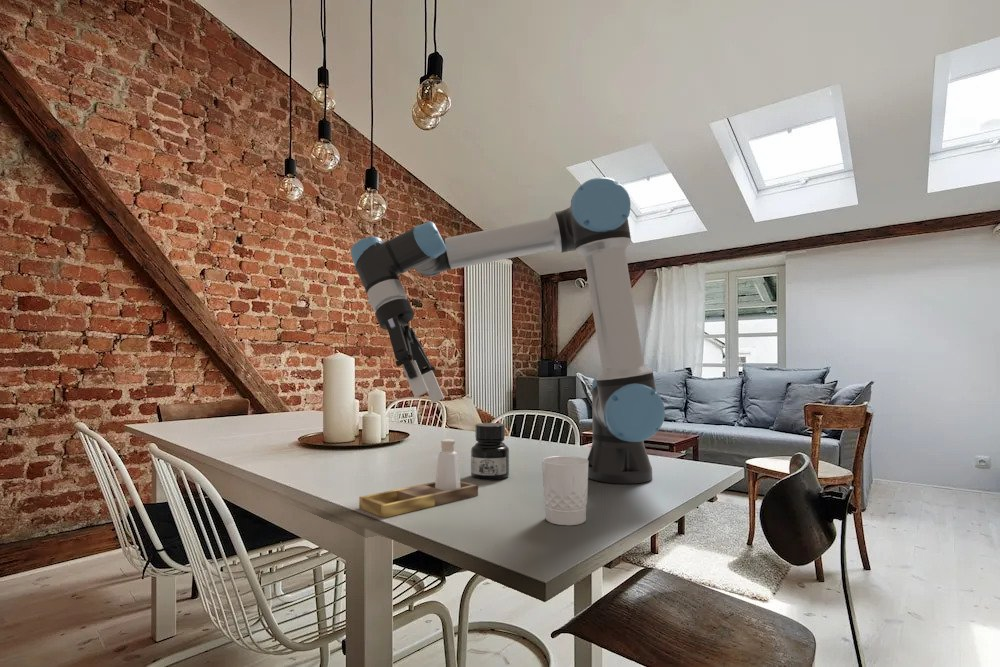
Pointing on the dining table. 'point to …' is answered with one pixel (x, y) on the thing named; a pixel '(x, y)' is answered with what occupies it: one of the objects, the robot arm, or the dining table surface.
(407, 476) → the dining table surface
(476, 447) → the ink bottle
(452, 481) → the pepper shaker
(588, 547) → the dining table surface
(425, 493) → the rail
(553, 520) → the white cup
